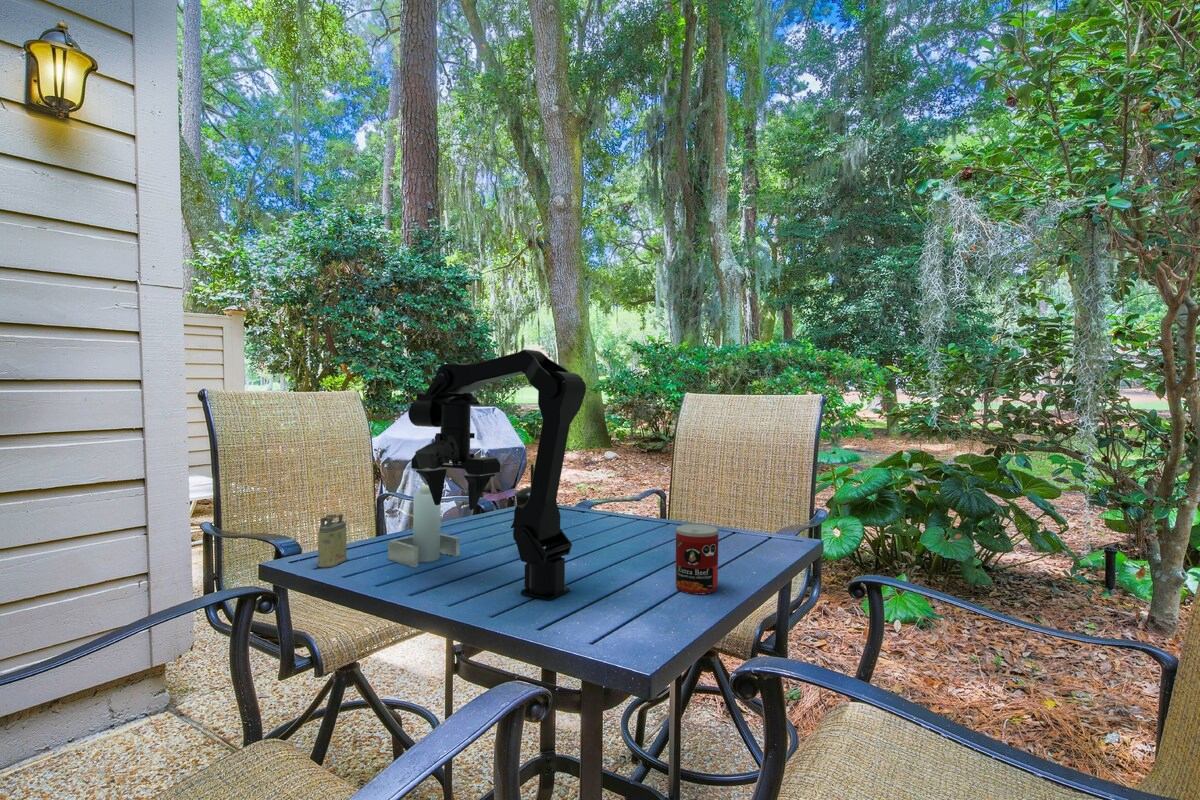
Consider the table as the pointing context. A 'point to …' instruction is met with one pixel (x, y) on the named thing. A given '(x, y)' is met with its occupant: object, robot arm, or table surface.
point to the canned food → (696, 558)
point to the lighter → (332, 541)
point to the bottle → (426, 525)
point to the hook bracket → (408, 553)
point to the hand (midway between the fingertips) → (454, 507)
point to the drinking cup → (524, 491)
